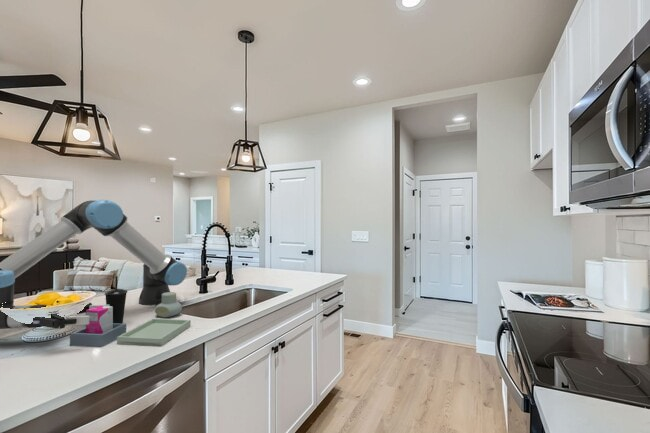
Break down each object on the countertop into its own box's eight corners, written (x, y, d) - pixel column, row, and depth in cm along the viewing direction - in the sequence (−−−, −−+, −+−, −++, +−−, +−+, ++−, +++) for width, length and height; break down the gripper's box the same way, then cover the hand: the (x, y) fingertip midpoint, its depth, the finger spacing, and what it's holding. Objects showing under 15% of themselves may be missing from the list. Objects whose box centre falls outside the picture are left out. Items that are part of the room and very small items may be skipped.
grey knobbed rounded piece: (151, 317, 136) (151, 294, 136) (164, 311, 144) (165, 290, 144) (172, 319, 133) (173, 296, 133) (185, 313, 141) (185, 292, 141)
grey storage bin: (97, 333, 116) (97, 322, 116) (125, 334, 115) (126, 323, 115) (69, 345, 104) (70, 333, 105) (101, 347, 104) (101, 335, 104)
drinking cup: (115, 329, 120) (116, 278, 120) (98, 328, 121) (100, 277, 121) (131, 323, 127) (132, 275, 127) (115, 321, 129) (116, 274, 129)
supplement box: (100, 335, 113) (101, 305, 113) (113, 337, 112) (114, 306, 112) (84, 342, 108) (85, 309, 108) (98, 343, 106) (99, 310, 106)
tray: (153, 324, 126) (153, 318, 126) (190, 326, 125) (190, 320, 125) (116, 344, 106) (116, 336, 106) (160, 346, 105) (161, 339, 105)
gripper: (55, 316, 118) (116, 313, 122) (-1, 341, 93) (78, 337, 97) (55, 296, 118) (116, 294, 122) (0, 316, 93) (78, 314, 97)
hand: (99, 313), depth 110 cm, fingers open, 13 cm apart
